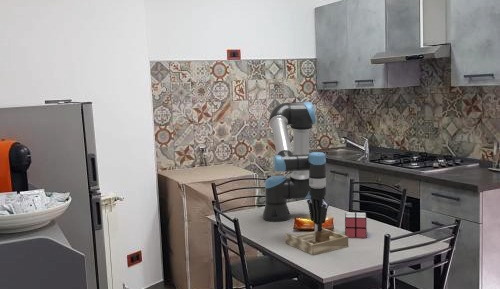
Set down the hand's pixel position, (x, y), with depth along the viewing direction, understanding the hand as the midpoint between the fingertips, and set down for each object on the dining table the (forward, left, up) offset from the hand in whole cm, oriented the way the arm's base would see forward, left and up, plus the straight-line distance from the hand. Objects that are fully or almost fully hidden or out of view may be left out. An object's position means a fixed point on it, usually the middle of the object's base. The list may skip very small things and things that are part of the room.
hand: (318, 237), depth 231 cm
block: (+3, 0, -1) cm, 3 cm away
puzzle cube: (-2, +25, -4) cm, 26 cm away
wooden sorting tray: (-2, 0, -4) cm, 4 cm away
